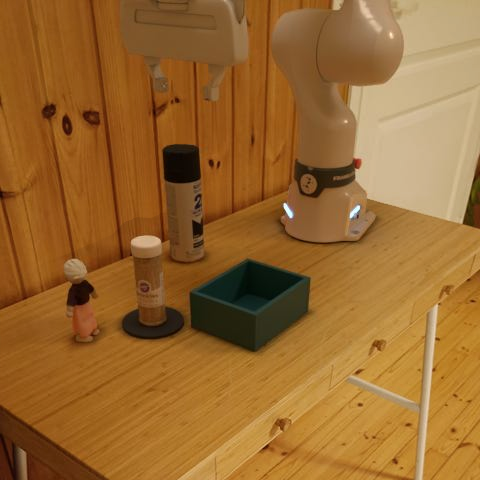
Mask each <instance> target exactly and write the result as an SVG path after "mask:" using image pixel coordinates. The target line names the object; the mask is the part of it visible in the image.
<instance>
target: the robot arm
mask: <svg viewBox="0 0 480 480" xmlns="http://www.w3.org/2000/svg"><path fill="white" fill-rule="evenodd" d="M247 21H248V20H247V15H246V0H119V24H120V35H121V41H122V46H123V47H124V49H125V51H126V52H127V53H128V54H129V55H135V56H136V55H138V56H144V65H145V68H146V70H147V71H148V74H149V76H150V78H151V79H152V89H153V91H154V93H160V94H165V93H167V92H169V89H170V88H169V77H165V75H164V74H163V70H162V68H161V65H160V64H162V63H163V61H162V60H163V59H166V60H175V61H182V62H189V63H190V62H191V63H198V64H205V65H206V64H207V69H208V71H207V72H208V74H211V75H210V78H209V82H208V84H207V85H203V86H202V92H203V95H202V96H203V100H204V101H207V102H216V101H218V100H219V99H220V85H221V84H222V81H223V79H224V77H225V75H226V73H227V72H226V70H227V67H230V68H231V67H237V66H241V65H243V64H245V62H246V61H247V59H248V57H249V51H250V50H249V49H250V48H249V34H248V33H249V32H248V22H247ZM271 33H272V34H271V38H270V51H271V56H272V59H273V62H274V64H275V66H276V67H277V68H278V69H279V71H280V72H281V73H282V74H283V76H284V77H285V79H286V81H287V84H288V85H289V88H290V90H291V93H292V97H293V100H294V103H295V104H294V105H295V107H296V113H297V114H296V115H297V156H296V158H295V160H294V165H293V179H294V180H293V181H292V182H291V183H290V184H289V186H288V192H287V199H286V203H283V208H284V210H285V214H284V215H281V217H280V223H281V224H282V225H283V226H284V231H285V232H286V234H288V235H289V236H290V237H293V238H295V239H297V240H301V241H305V242H310V243H336V242H357V241H359V240H360V239H361V238H362V237H363V235H364V234H365V233H366V231H367V230H368V229H369V228H370V227H371V225H372V224H373V223H374V222H375V220H376V218H377V216H376V215H377V214H375V212H373V211H371V210H369V209H367V202H368V193H367V190H366V189H364V188H363V187H362V186H361V185H360V183H359V182H358V181H357V179H356V178H357V177H356V172H357V171H356V170H360V169H361V167H362V164H363V163H362V158H356V157H354V153H355V145H356V135H357V126H358V123H357V118H356V115H355V113H354V112H353V110H352V109H351V108H350V107H349V106H348V105H347V104H346V103H345V102H344V99H343V98H342V97H341V94H340V90H339V85H338V84H340V85H347V86H352V87H358V88H359V87H371V86H378V85H384V84H386V83H388V82H389V80H391V79H392V77H393V76H394V75H395V74H396V72H397V70H398V68H399V67H400V65H401V63H402V59H403V56H404V49H405V40H404V35H403V31H402V29H401V27H400V25H399V23H398V21H397V20H396V18H395V16H394V13H393V11H392V6H391V0H343V1H342V4H341V6H340V8H339V9H327V8H315V7H306V8H299V9H294V10H290V11H287V12H285V13H283V14H282V15H280V17H279V18H278V20H277V21H276V23H275V25H274V27H273V30H272V32H271Z"/></svg>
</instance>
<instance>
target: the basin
mask: <svg viewBox="0 0 480 480" xmlns="http://www.w3.org/2000/svg"><path fill="white" fill-rule="evenodd" d="M311 280H312V278H311V276H307V275H304V274H300V273H297V272H294V271H291V270H288V269H284V268H281V267H278V266H274V265H271V264H268V263H264V262H261V261H258V260H255V259H251V258H248V257H247V258H246V259H243V260H242V261H240V262H239V263H237V264H235V265H233V266H231V267H230V268H228V269H227V270H225V271H223V272H221V273H219V274H218V275H216V276H214V277H212V278H211V279H209V280H207V281H206V282H204V283H202V284H200V285H199V286H197V287H195V288H193V289H192V290H189V292H188V293H189V294H188V295H189V313H190V315H189V316H190V328H193V329H196V330H198V331H201V332H203V333H206V334H208V335H211V336H213V337H216V338H218V339H221V340H224V341H226V342H229V343H232V344H234V345H236V346H240V347H242V348H244V349H247V350H250V351H252V352H257V351H258V350H259V349H261V348H262V347H263V346H264V345H266V344H267V343H269V342H270V341H271V340H272V339H274V338H275V337H277V336H278V335H279V334H281V333H282V332H283V331H285V330H286V329H287V328H289V327H290V326H291V325H293V324H294V323H296V322H297V321H298V320H300V318H302V317H303V316H305V315H306V314H308V313H309V304H310V295H311V294H310V293H311Z"/></svg>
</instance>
